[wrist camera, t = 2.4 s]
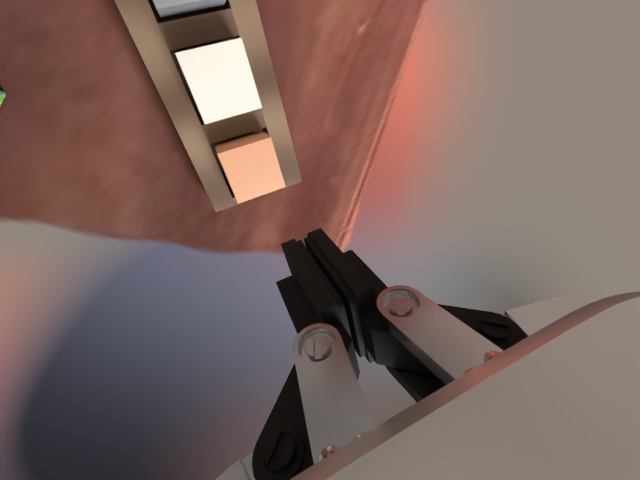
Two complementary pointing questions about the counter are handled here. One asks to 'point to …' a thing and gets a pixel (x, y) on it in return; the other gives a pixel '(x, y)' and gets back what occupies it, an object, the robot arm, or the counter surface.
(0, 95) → the syrup box
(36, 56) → the counter surface
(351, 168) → the counter surface
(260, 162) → the peach square block
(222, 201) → the button board
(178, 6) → the grey button
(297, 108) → the counter surface
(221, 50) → the cream button
